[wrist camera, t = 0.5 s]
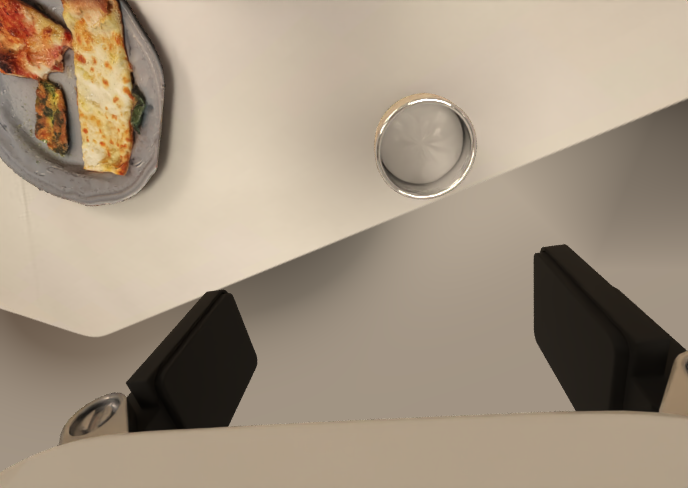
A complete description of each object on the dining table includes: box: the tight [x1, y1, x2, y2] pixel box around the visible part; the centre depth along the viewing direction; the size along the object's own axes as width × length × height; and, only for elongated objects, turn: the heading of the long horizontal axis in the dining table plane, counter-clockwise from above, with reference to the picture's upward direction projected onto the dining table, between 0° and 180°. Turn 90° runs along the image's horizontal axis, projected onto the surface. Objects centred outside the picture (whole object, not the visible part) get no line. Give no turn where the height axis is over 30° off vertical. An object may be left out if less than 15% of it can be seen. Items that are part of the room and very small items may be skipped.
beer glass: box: [374, 93, 477, 199], centre depth 30 cm, size 7×7×15 cm
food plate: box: [0, 0, 165, 206], centre depth 38 cm, size 25×23×4 cm
